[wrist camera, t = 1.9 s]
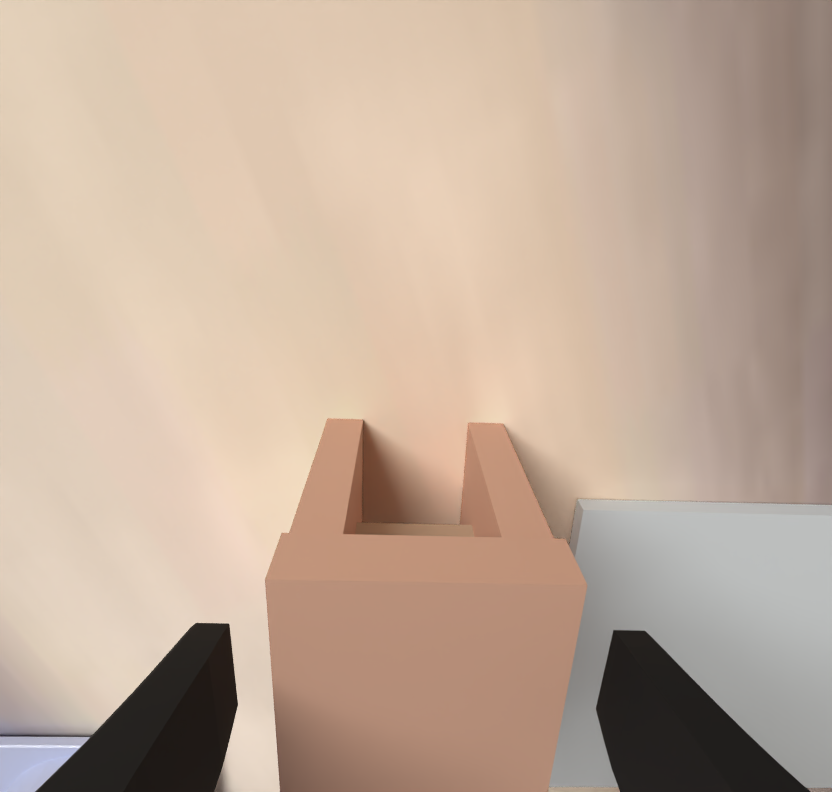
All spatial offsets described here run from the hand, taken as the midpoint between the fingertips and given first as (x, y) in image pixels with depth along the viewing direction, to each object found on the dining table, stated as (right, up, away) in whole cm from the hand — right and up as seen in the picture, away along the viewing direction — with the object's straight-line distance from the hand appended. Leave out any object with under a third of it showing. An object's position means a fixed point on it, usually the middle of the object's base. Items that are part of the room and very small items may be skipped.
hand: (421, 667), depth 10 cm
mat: (+11, -4, +8) cm, 14 cm away
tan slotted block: (0, +2, +6) cm, 6 cm away
